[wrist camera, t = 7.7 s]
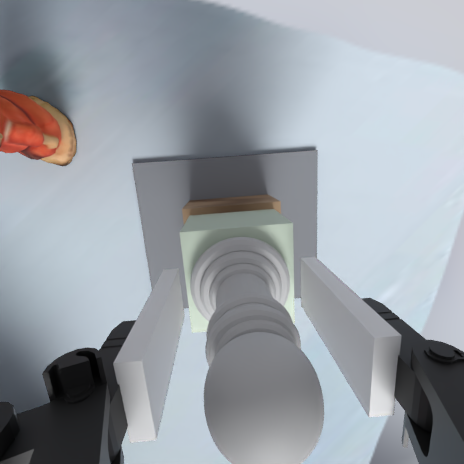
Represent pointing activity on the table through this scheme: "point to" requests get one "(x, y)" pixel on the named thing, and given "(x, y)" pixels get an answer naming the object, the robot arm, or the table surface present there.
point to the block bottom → (230, 205)
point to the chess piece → (254, 357)
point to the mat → (223, 186)
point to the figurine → (35, 129)
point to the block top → (228, 226)
